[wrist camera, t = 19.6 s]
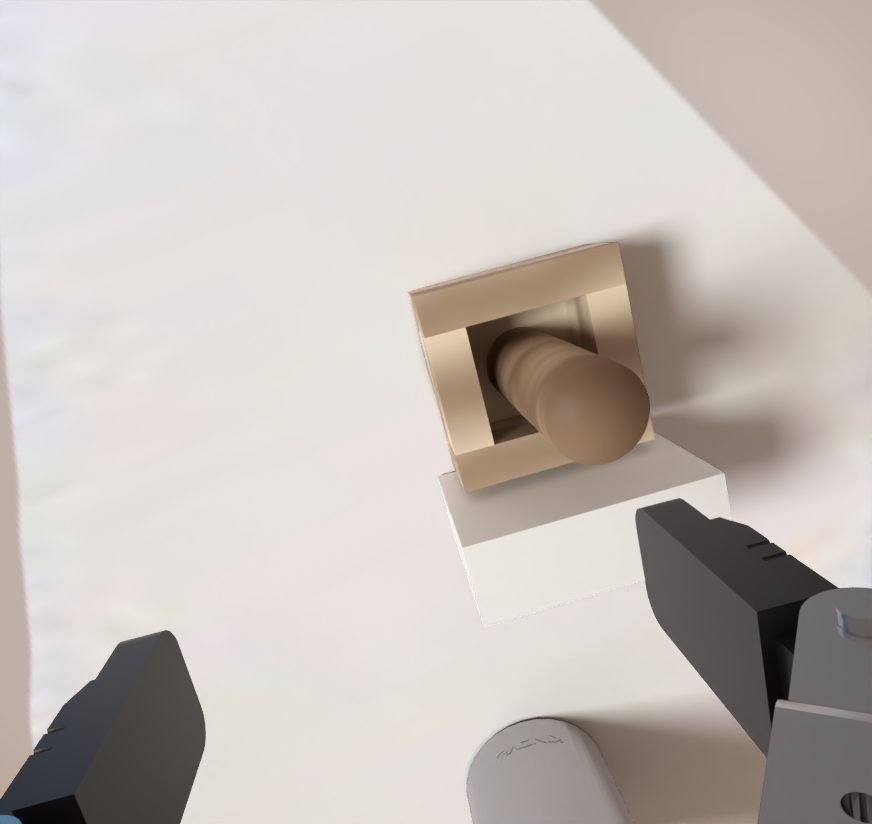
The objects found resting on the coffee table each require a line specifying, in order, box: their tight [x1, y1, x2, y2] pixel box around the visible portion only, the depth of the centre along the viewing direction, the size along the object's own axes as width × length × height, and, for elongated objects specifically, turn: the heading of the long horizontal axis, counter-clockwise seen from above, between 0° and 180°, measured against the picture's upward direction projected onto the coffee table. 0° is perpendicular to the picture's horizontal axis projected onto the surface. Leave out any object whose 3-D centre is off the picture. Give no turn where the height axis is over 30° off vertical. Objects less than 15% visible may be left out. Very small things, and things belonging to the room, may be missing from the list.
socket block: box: [407, 242, 655, 493], centre depth 35 cm, size 10×10×5 cm
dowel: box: [486, 327, 650, 465], centre depth 31 cm, size 4×4×12 cm
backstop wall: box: [438, 432, 732, 628], centre depth 35 cm, size 4×12×10 cm, turn 104°
